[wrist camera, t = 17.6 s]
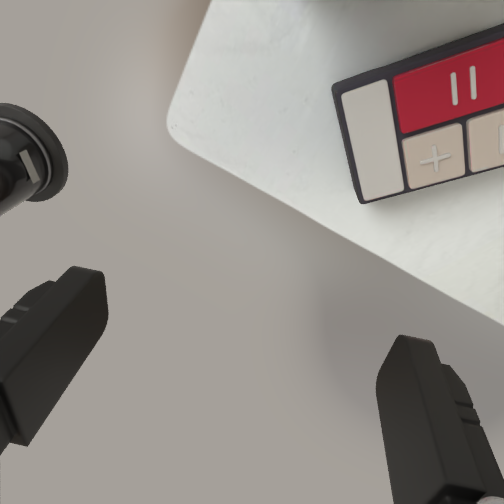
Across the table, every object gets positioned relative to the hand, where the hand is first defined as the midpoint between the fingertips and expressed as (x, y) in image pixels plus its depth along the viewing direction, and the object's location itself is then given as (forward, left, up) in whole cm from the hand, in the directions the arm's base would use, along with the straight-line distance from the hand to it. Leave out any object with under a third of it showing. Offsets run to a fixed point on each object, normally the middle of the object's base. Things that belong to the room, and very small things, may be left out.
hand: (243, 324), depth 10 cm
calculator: (+12, +1, -30) cm, 32 cm away
